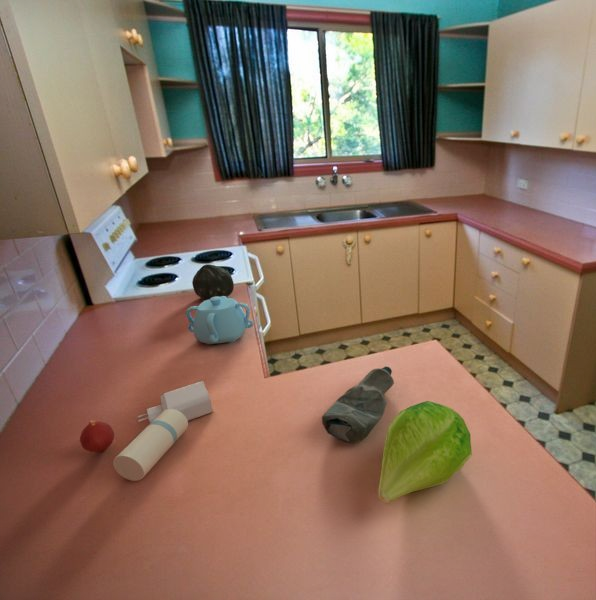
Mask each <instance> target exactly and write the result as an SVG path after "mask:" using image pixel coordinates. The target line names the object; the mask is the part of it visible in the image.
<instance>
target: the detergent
mask: <svg viewBox="0 0 596 600" xmlns="http://www.w3.org/2000/svg"><path fill="white" fill-rule="evenodd" d="M392 372H393V370H392V369H391V367H390V366H383V367H380V368H378V367H377V368H373V369H371V370H370V371H369V372H367V374H366V375H365V376H364V377H363V378H362V379H361V380H360V382H359V383H357V384H356V385H354V386H352V387H351V388H349V389H348V390H346V391H345V392H344V394H342V395H341V396H340V397H339V398H337V399H336V400H335V402H334V403H333V404H332V405H331V406H330V407H329V408H328V409H327V410H326V411H325V412H324V414H323V415H322V417H321V423H322V425H323V428H324V429H325V431H326V432H327V434H328V435H330V436H333V437H334V438H335V439H338V440H341V441H343V442H346V443H353V444H354V443H358V442H361V441H363V440H364V439H366V438H367V437H368V435H369V434H370V433H371V432H372V431H373V430H374V428H375V427H376V425H377V424H378V423H379V422H380V421H381V419H383V416H384V413H385V411H386V407H387V404H388V401H387V399H386V397H385V394H386V393H387V392H388V391H389V390H391V388H392V387H393V385H394V384H395V381H394V379H393V376H392Z"/></svg>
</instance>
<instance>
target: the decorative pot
mask: <svg viewBox="0 0 596 600" xmlns="http://www.w3.org/2000/svg"><path fill="white" fill-rule="evenodd" d="M244 309H245V311H244ZM192 311H196V312H195V315H194V317H192V314H191V312H192ZM250 314H251V311H250V307H249V305H248V304H247V303H245V302H238V301H237V300H236V299H235V298H232V297H228V296H221V297H212V298H210V299H209V300H206V301H204V300H203V301H202V302H201V303H200V304H199V305H192V306H190V307H188V308H187V309H186V311H185V316H186V318H187V320H188V322H189V323H190V324H188V326H187V329H188V331H189V332H191V333H193V335H194V338H195V339H196V340H198V341H199V342H200V343H203V344H206V345H214V344H223V343H228V344H231V343H235V342H236V341H237V340H238V339H239V338H241V337H242V336H243V334H244V333H245V331H246V329H250V328H252V327H253V326H254V321H253V320H252V319H249V318H250Z"/></svg>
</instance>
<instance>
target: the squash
mask: <svg viewBox="0 0 596 600" xmlns="http://www.w3.org/2000/svg"><path fill="white" fill-rule="evenodd" d="M191 282H192V283H191V285H192V287H193V291H194V293H195V295H196V296H197V297H198V298H200V300H202V301H203V302H204V301H206V300H209V299H210V298H212V297H221V296H226V297H228V296H230V295H232V293H233V291H234V288H235V284H234V280H233V277H232V275H231V274H230V272H229V271H228V270H227V269H226V268H223V267H220V266H217V265H214V264H209V263H207V264H204V265H202V266H201V267H200V268H199V269H198V270H197V272H195V275H194V276H193V277H192V281H191Z"/></svg>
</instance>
